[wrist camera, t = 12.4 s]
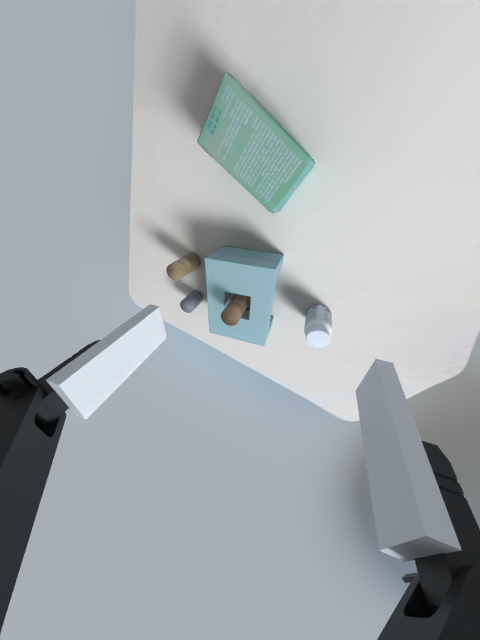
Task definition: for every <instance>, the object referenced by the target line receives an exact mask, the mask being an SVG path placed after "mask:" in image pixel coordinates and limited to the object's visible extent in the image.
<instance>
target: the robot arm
mask: <svg viewBox="0 0 480 640" xmlns="http://www.w3.org/2000/svg"><path fill="white" fill-rule="evenodd" d="M165 339H166V333H165V329H164V324H163V320H162V315H161V311H160V307H159V306H154V305H149V306H147V307H146V308H144V309H143V310H142V311H140V312H139V313H138V314H136V315H135V316H133V317H132V318H131V319H129V320H128V321H126V322H125V323H124V324H122V325H121V326H120V327H119V328H117V329H116V330H114V331H113V332H111V333H110V334H109V335H107V336H106V337H104V338H103V339H102V340H98V341H95V342H93V343H91V344H89V345H87V346H86V347H84V348H83V349H81V350H80V351H79V352H78V353H76V354H74V355H73V356H72V357H71V358H69V359H67V360H66V361H64V362H63V363H61V364H60V365H59V366H57V367H56V368H54V369H53V370H52V371H50V372H49V373H47V374H46V375H44V376H43V377H42V378H40V379H38V380H37V379H36V378H35V377H34V376H33V375H32V374H31V372H29V370H28V369H27V368H23V367H20V368H14V369H10V370H7V371H5V372H3V373H1V374H0V632H1V629H2V625H3V622H4V619H5V615H6V612H7V609H8V606H9V602H10V599H11V595H12V592H13V589H14V586H15V583H16V579H17V576H18V573H19V570H20V566H21V563H22V560H23V557H24V553H25V550H26V547H27V543H28V540H29V537H30V534H31V530H32V527H33V524H34V520H35V517H36V514H37V510H38V507H39V504H40V501H41V497H42V494H43V491H44V487H45V484H46V481H47V478H48V475H49V471H50V468H51V465H52V461H53V458H54V455H55V451H56V448H57V444H58V442H59V438H60V435H61V431H62V429H63V425H64V422H65V419H66V413H65V411H66V410H67V409H68V408H69V409H70V410H71V411H72V412H73V413H74V415H77V416H79V417H81V418H84V419H87V418H88V417H89V416H90V415H91V414H92V413H93V412H94V411H95V410H96V409H97V408H98V407H99V406H100V405H101V404H102V403H103V402H104V401H105V400H106V399H107V398H108V397H109V396H110V395H111V394H112V393H113V392H114V391H115V390H116V389H117V388H118V387H119V386H120V385H121V384H122V382H124V381H125V380H126V379H127V378H128V377H129V376H130V374H131V373H132V372H133V371H134V370H135V369H136V368H137V367H138V366H139V365H140V364H141V363H142V362H143V361H144V360H145V359H146V358H147V357H148V356H149V355H150V354H151V353H152V352H153V351H154V350H155V349H156V348H157V347H158V346H159V345H160V344H161V343H162V342H163V341H164V340H165ZM356 396H357V403H358V410H359V417H360V423H361V430H362V437H363V443H364V450H365V457H366V464H367V471H368V478H369V484H370V490H371V497H372V505H373V512H374V517H375V525H376V532H377V538H378V546H379V550H380V551H382V552H384V553H386V554H389V555H391V556H393V557H395V558H398V559H400V560H402V561H405V562H406V561H411V560H415V562H416V566H417V571H418V573H412V574H406V575H405V576H404V577H402V579H403V580H404V582H405V583H407V582H411V583H410V585H409V586H408V588H407V590H406V591H405V593H404V595H403V596H402V598H401V600H400V601H399V603H398V605H397V607H396V608H395V610H394V612H393V613H392V615H391V617H390V619H389V620H388V622H387V624H386V625H385V627H384V629H383V631H382V632H381V634H380V636H379V637H378V640H480V529H479V527H478V525H477V522H476V520H475V518H474V516H473V513H472V511H471V509H470V507H469V504H468V502H467V500H466V498H464V493H463V491H462V488H461V486H460V484H459V483H458V482H457V480H458V479H457V477H456V475H455V473H454V470H453V468H452V466H451V463H450V462H449V460H448V459H447V458H446V457H445V455H444V454H443V453H442V451H441V450H440V449H439V447H438V446H437V445H434V444H430V443H427V442H424V441H421V438H420V436H419V433H418V430H417V427H416V425H415V422H414V419H413V417H412V414H411V411H410V409H409V406H408V403H407V400H406V398H405V395H404V392H403V390H402V387H401V384H400V381H399V379H398V376H397V373H396V371H395V368H394V365H393V363H391V362H387V361H383V360H379V359H375V361H374V363H373V364H372V366H371V367H370V369H369V371H368V372H367V374H366V375H365V377H364V379H363V380H362V382H361V383H360V385H359V387H358V388H357V390H356Z"/></svg>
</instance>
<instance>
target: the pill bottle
mask: <svg viewBox="0 0 480 640" xmlns="http://www.w3.org/2000/svg"><path fill="white" fill-rule="evenodd" d="M305 335H306V342H307V343H308V344H309V345H310V346H311V347H313V348H324V347H326V346H327V345H328V344H329V343H330V337H331V335H332V316H331V311H330V310H329V308H328V307H326V306H324V305H314V306H312V307H310V308H309V309H308V311H307V314H306V321H305Z"/></svg>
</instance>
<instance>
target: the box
mask: <svg viewBox="0 0 480 640" xmlns="http://www.w3.org/2000/svg"><path fill="white" fill-rule="evenodd" d="M197 143H198V144H199V145H200V146H201V147H202V148H203V149H204V150H205V151H206V152H207V153H208V154H209V155H210V156H211V157H212V158H214V159H215V160H216V161H217V162H218V163H219V164H220V165H221V166H222V167H223V168H224V169H225V170H226V171H227V172H228V173H230V174H231V175H232V176H233V177H234V178H235V179H236V180H237V181H238V182H239V183H240V184H241V185H242V186H243V187H244V188H245V189H246V190H247V191H249V192H250V193H251V194H252V195H253V196H254V197H255V198H256V199H257V200H258V201H259V202H260V203H261V204H262V205H263V206H264V207H265V208H266V209H267V210H268V211H270V212H272V213H275V212H278V211H280V210H281V209H282V207H283V206H284V205H285V203H286V202H287V201H288V199H289V198H290V197H291V195H292V194H293V193H294V191H295V190H296V189H297V188H298V186H299V185H300V184H301V182H302V181H303V180H304V178H305V177H306V176H307V174H308V173H309V172H310V170H311V169H312V168H313V167H314V164H315V162H314V160H313V159H312V158H311V156H310V155H309V154H308V153H307V152H306V151H305V150H304V149H303V148H302V147H301V146H300V145H299V144H298V143H297V142H296V141H295V140H294V139H293V138H292V137H291V136H290V135H289V134H288V133H287V132H286V131H285V130H284V129H283V128H282V127H281V126H280V124H279V123H278V122H277V121H276V120H275V119H274V118H273V117H272V116H271V115H270V114H269V113H268V112H267V111H266V110H265V109H264V108H263V107H262V106H261V105H260V104H259V103H258V102H257V101H256V100H255V99H254V98H253V97H252V96H251V95H250V94H249V93H248V92H247V91H246V90H245V89H244V88H243V87H242V86H241V84H240V83H239V82H238V81H237V80H236V79H235V78H233V77H232V76H231V75H230V74H228V73H227V72H225V75H224V77H223V80H222V82H221V85H220V87H219V89H218V92H217V94H216V97H215V99H214V102H213V104H212V107H211V109H210V112H209V114H208V116H207V119H206V121H205V124H204V126H203V129H202V131H201V134H200V136H199V138H198V142H197Z"/></svg>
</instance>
